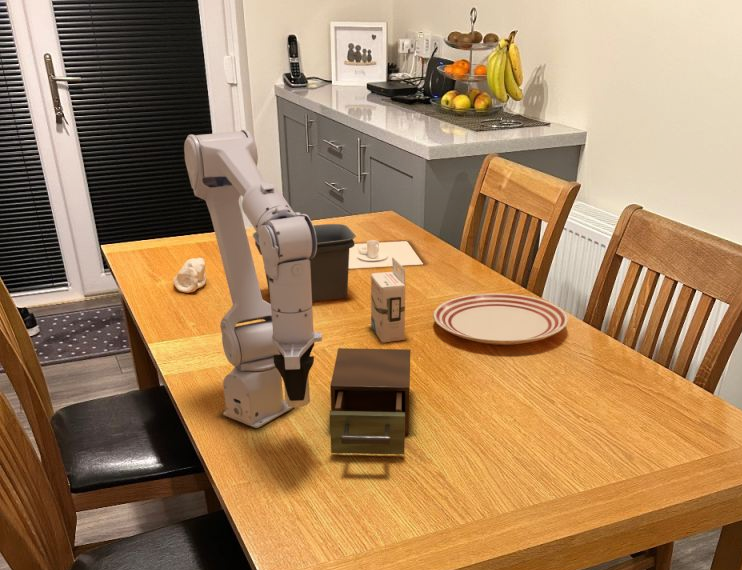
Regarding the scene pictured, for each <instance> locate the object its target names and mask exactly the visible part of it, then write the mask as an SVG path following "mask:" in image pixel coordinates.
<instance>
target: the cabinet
mask: <svg viewBox="0 0 742 570" xmlns="http://www.w3.org/2000/svg"><path fill="white" fill-rule="evenodd" d="M329 386H330V411H335V406H336V401H337V396H338V390H379V391H402V412H405V435H409V433H410V396H411V390H410V389H411V349H408V348H407V349H406V348H405V349H403V348H351V347H350V348H347V347H346V348H345V347H344V348H342V347H339V348H338V349H337V353H336V356H335V361H334V367H333V372H332V377H331V381H330V385H329Z"/></svg>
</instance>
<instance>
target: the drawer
mask: <svg viewBox="0 0 742 570" xmlns="http://www.w3.org/2000/svg"><path fill="white" fill-rule="evenodd" d="M329 435H330V453H331V454H360V455H361V454H362V455H405V445H406V444H405V443H406V442H405V441H406V437H405V436H406V434H405V412H402V391H379V390H338V396H337V401H336V406H335V411H331V410H330V411H329Z"/></svg>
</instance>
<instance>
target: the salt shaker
mask: <svg viewBox="0 0 742 570" xmlns="http://www.w3.org/2000/svg"><path fill="white" fill-rule="evenodd" d="M309 376H310V375H308V378H307V383H306V392H305V397H304V400H303V401H290V400H289V397H288V394H287V391H286V388H285V384H284V383H283V387H284V400H285V401H286V404H287V405H289V406H292V407H294V408H300V407H301V408H302V407H305V406H307V405H309V404H310V402H311V398H310V397H311V396H310V394H311V393H310V380H309V379H310V377H309Z"/></svg>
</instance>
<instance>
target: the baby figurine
mask: <svg viewBox="0 0 742 570" xmlns="http://www.w3.org/2000/svg"><path fill="white" fill-rule="evenodd" d="M172 280H173V285H174V287H175V288H176V289H177V290H178V291H179V292H180V293H187V294H190V293H191V294H192V293H194V292H195V291H197V290H198V289H200V288H202V287H204V286H205V284H206V282H207V273H206V262H205V259H204V257H201V256H200V257H197V258H196V257H195V258H194V257H193V258H190V259H187V260H186V261H185V262H184V264H183V265H182V266H181V268H180V270H179V271H178V273H177V274H176V275H175V276H174V277H173V279H172Z"/></svg>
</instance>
